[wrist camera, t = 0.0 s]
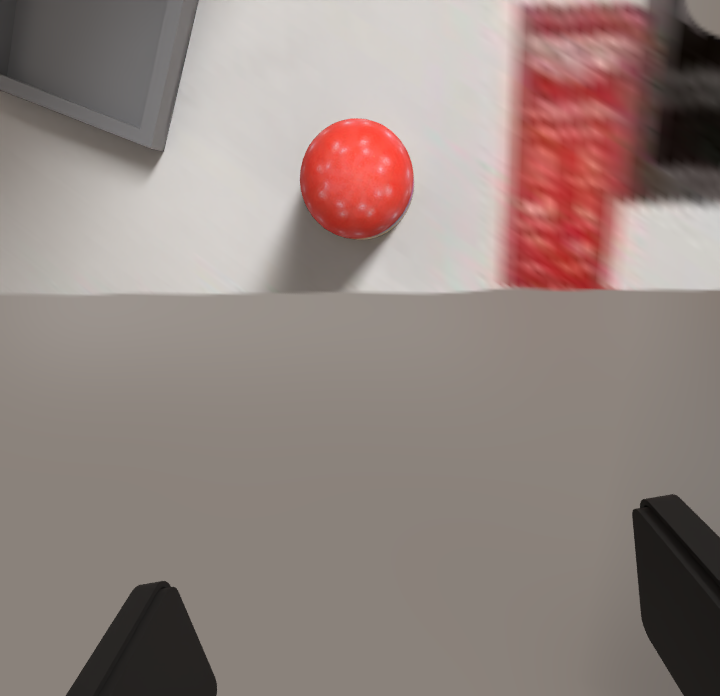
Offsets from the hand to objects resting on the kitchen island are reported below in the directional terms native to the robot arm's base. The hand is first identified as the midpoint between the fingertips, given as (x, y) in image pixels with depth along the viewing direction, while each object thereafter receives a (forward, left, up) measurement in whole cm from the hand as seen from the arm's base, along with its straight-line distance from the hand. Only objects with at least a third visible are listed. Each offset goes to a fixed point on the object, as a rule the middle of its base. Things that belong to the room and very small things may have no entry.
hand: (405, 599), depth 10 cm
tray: (-24, -16, -31) cm, 42 cm away
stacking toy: (-9, 0, -31) cm, 33 cm away
